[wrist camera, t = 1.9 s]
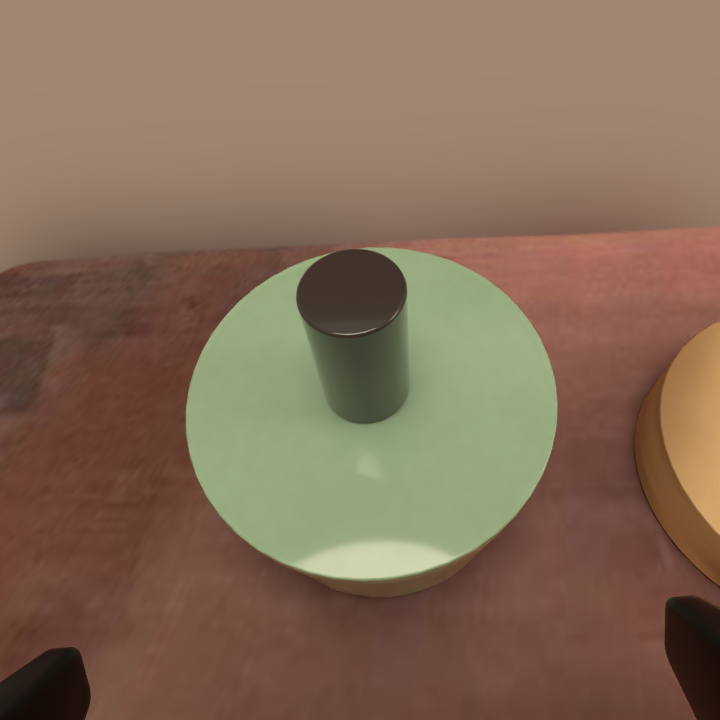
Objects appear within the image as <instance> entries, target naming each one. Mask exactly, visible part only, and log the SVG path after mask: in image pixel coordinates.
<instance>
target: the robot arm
mask: <svg viewBox="0 0 720 720" xmlns="http://www.w3.org/2000/svg"><path fill="white" fill-rule="evenodd" d="M665 650H666V654H667V658H668V661H669V663H670V665H671V667H672V669H673V671H674V673H675V675H676V677H677V679H678V682H679V684H680V686H681V688H682V690H683V692H684V694H685V696H686V698H687V700H688V702H689V704H690V706H691V708H692V711H693V713H694V715H695V717H696V719H697V720H720V607H718V606H716V605H714V604H712V603H710V602H709V601H707V600H705V599H703V598H701V597H698V596H681V597H672V598H670V599H668V600H667V603H666V608H665ZM90 697H91V694H90V687H89V683H88V679H87V675H86V672H85V668H84V664H83V661H82V657H81V654H80V652H79V651H78V649H76V648H74V647H68V648H55V649H50V650H47V651H46V652H44V653H43V654H41V655H40V656H38V657H37V658H35V659H34V660H33V661H31V662H30V663H28V664H27V665H25V666H24V667H22V668H21V669H19V670H18V671H17V672H15V673H14V674H12V675H11V676H9V677H8V678H6V679H5V680H3V681H2V682H0V720H85V717H86V714H87V712H88V708H89V704H90Z"/></svg>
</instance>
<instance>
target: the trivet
mask: <svg viewBox="0 0 720 720" xmlns="http://www.w3.org/2000/svg"><path fill="white" fill-rule="evenodd" d="M634 444H635V459H636V465H637V470H638V475H639V478H640V481H641V484H642V487H643V491H644V493H645V495H646V497H647V500H648V502H649V504H650V506H651V508H652V511H653V512H654V514H655V515H656V517H657V519H658V520H659V522H660V524H661V525H662V527H663V529H664V530H665V531H666V533H667V534H668V535H669V537H670V538H671V539H672V541H673V542H674V543H675V545H676V546H677V547H678V548H679V549H680V550H681V552H682V553H683V554H684V555H685V556H686V557H687V558H688V559H689V560H690V561H691V562H692V563H693V564H694V565H695V566H696V567H697V568H698V569H699V570H700V571H702V572H703V573H704V574H705V575H706V576H707V577H708V578H710V579H711V580H712V581H713V582H714V583H716V584H717V585H718V586H720V321H719V322H717V323H715V324H713V325H711V326H709V327H707V328H705V329H704V330H703V331H701V332H700V333H698V334H697V335H695V336H694V337H693V338H692V339H691V340H690V341H689V342H688V343H686V344H685V345H684V346H683V347H682V348H681V350H680V351H679V352H678V354H677V355H676V356H675V358H674V359H673V360H672V362H671V363H670V364H669V366H668V367H667V368H666V370H665V371H664V372H663V374H662V375H661V376H660V378H659V379H658V380H657V382H656V383H655V384H654V386H653V387H652V388H651V390H650V391H649V392H648V394H647V396H646V398H645V400H644V402H643V404H642V406H641V408H640V412H639V415H638V418H637V422H636V429H635V437H634Z"/></svg>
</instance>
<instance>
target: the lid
mask: <svg viewBox="0 0 720 720" xmlns="http://www.w3.org/2000/svg"><path fill="white" fill-rule="evenodd" d="M557 412H558V401H557V391H556V382H555V378H554V374H553V370H552V367H551V363H550V360H549V357H548V355H547V353H546V350H545V348H544V345H543V343H542V341H541V339H540V337H539V336H538V334H537V332H536V331H535V329H534V327H533V326H532V324H531V322H530V321H529V320H528V318H527V317H526V316H525V315H524V313H523V312H522V311H521V310H520V308H519V307H518V306H517V305H516V304H515V303H514V302H513V301H512V300H511V299H510V298H509V297H508V296H507V295H506V294H505V293H504V292H503V291H501V290H500V289H499V288H497V287H496V286H495V285H493V284H492V283H491V282H489V281H488V280H487V279H485V278H484V277H482V276H480V275H478V274H477V273H475V272H473V271H472V270H470V269H468V268H466V267H464V266H461V265H459V264H457V263H455V262H452V261H450V260H447V259H444V258H441V257H438V256H435V255H432V254H428V253H423V252H418V251H413V250H407V249H398V248H359V249H345V250H340V251H336V252H333V253H328V254H325V255H322V256H318V257H315V258H312V259H308V260H306V261H304V262H301V263H299V264H296V265H294V266H291V267H289V268H287V269H285V270H284V271H282V272H280V273H278V274H276V275H274V276H272V277H271V278H269V279H268V280H266V281H265V282H263V283H262V284H260V285H259V286H257V287H256V288H255V289H253V290H252V291H251V292H250V293H249V294H247V295H246V296H245V297H244V298H243V299H241V300H240V301H239V302H238V303H237V304H236V305H235V306H234V307H233V308H232V309H231V311H230V312H229V313H228V314H227V315H226V316H225V317H224V318H223V320H222V321H221V322H220V324H219V325H218V326H217V328H216V329H215V330H214V332H213V333H212V335H211V336H210V338H209V340H208V342H207V343H206V345H205V347H204V348H203V350H202V352H201V355H200V357H199V360H198V362H197V364H196V367H195V369H194V372H193V376H192V380H191V383H190V387H189V391H188V399H187V406H186V436H187V443H188V449H189V455H190V458H191V461H192V465H193V468H194V471H195V474H196V477H197V479H198V481H199V483H200V485H201V487H202V489H203V491H204V493H205V495H206V497H207V499H208V500H209V501H210V503H211V504H212V506H213V507H214V509H215V510H216V511H217V513H218V514H219V516H220V517H221V518H222V519H223V520H224V521H225V522H226V523H227V524H228V525H229V526H230V527H231V529H232V530H233V531H234V532H235V533H236V534H237V535H238V536H239V537H240V538H242V539H243V540H244V541H245V542H247V543H248V544H249V545H251V546H252V547H253V548H255V549H256V550H257V551H258V552H260V553H261V554H263V555H264V556H266V557H268V558H270V559H272V560H273V561H275V562H277V563H279V564H280V565H282V566H284V567H286V568H289V569H292V570H294V571H297V572H300V573H302V574H305V575H308V576H310V577H315V578H319V579H324V580H328V581H333V582H338V583H351V584H364V585H366V584H382V583H394V582H399V581H404V580H409V579H414V578H419V577H423V576H425V575H428V574H431V573H434V572H437V571H439V570H442V569H445V568H448V567H450V566H452V565H453V564H455V563H457V562H459V561H461V560H463V559H465V558H467V557H469V556H471V555H472V554H474V553H475V552H477V551H478V550H479V549H481V548H482V547H484V546H485V545H486V544H488V543H489V542H490V541H492V540H493V539H494V538H495V537H497V536H498V535H499V534H500V533H501V532H502V531H503V530H504V529H505V528H506V527H507V526H508V525H509V524H510V523H511V522H512V521H513V520H514V519H515V517H516V516H517V515H518V513H519V512H520V511H521V510H522V508H523V507H524V506H525V504H526V503H527V502H528V500H529V499H530V497H531V495H532V493H533V492H534V490H535V488H536V486H537V484H538V483H539V481H540V479H541V477H542V475H543V474H544V471H545V468H546V465H547V463H548V460H549V457H550V455H551V452H552V448H553V443H554V438H555V434H556V429H557Z"/></svg>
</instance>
